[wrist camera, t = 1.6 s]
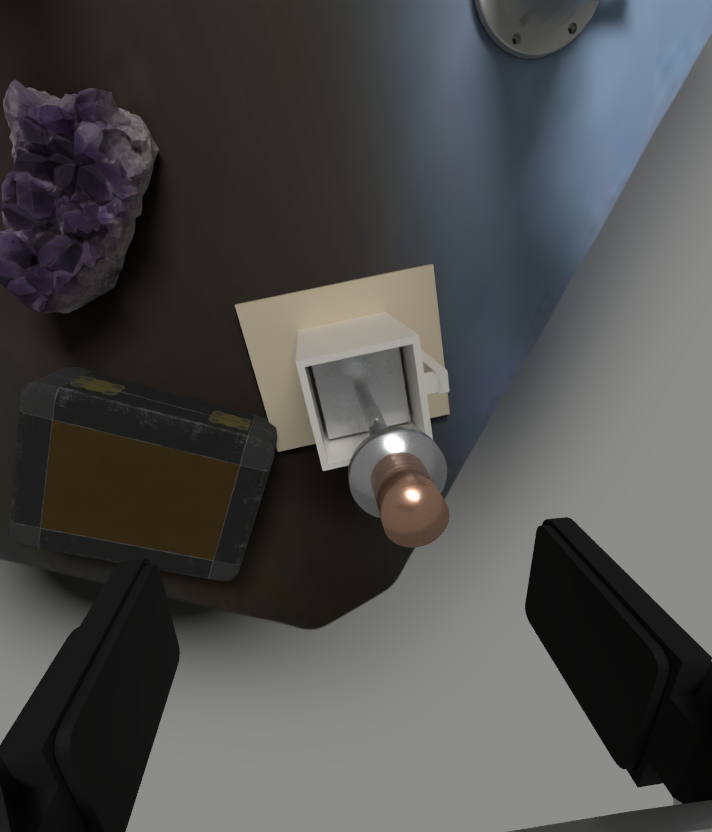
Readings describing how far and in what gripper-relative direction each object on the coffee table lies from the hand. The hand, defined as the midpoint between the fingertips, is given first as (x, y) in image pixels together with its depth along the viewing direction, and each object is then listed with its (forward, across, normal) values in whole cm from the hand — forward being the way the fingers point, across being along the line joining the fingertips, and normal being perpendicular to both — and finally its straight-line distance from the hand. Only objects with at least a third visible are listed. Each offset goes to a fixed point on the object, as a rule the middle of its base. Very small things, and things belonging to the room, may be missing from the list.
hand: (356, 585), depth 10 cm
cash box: (+41, +20, +16) cm, 48 cm away
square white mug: (+40, -4, +4) cm, 40 cm away
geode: (+40, +21, -12) cm, 47 cm away
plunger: (+29, -4, +4) cm, 29 cm away
